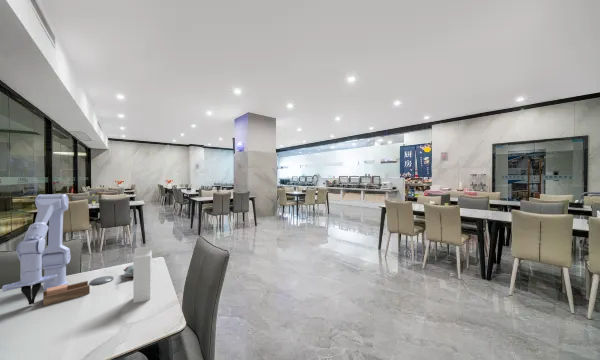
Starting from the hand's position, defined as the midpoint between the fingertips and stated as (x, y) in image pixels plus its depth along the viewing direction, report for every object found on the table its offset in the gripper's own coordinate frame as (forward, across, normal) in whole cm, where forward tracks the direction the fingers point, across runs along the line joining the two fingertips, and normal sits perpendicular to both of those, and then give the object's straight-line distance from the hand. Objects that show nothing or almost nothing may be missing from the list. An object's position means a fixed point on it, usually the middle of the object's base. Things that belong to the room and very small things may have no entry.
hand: (31, 303), depth 96 cm
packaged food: (+3, +34, +9) cm, 36 cm away
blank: (+1, +7, 0) cm, 7 cm away
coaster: (+1, +23, +9) cm, 25 cm away
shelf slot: (+1, +10, 0) cm, 10 cm away
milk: (+1, +32, -26) cm, 41 cm away
